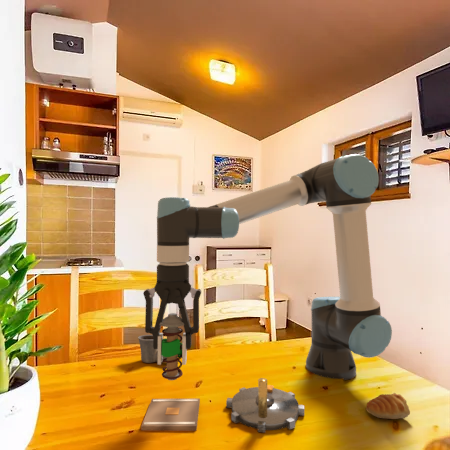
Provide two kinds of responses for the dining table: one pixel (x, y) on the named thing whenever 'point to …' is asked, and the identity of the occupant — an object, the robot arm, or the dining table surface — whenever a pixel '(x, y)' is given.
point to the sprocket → (265, 407)
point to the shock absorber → (172, 346)
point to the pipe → (148, 349)
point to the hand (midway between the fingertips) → (172, 362)
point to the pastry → (388, 406)
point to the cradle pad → (172, 415)
